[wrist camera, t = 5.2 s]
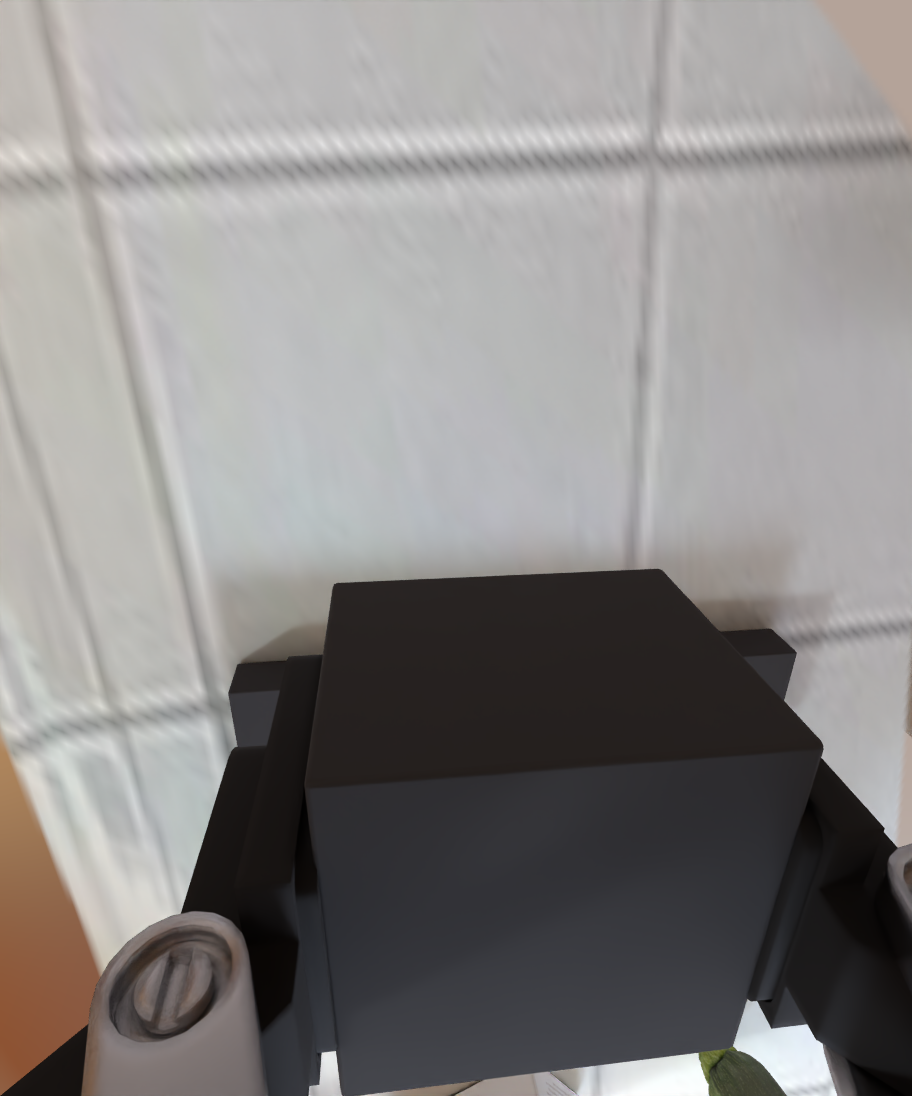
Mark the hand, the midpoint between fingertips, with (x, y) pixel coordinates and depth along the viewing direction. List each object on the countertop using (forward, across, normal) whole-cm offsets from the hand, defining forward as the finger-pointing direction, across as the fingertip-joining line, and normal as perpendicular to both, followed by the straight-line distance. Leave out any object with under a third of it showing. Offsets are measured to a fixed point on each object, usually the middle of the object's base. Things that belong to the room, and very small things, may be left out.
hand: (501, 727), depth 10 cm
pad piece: (0, 0, 0) cm, 0 cm away
